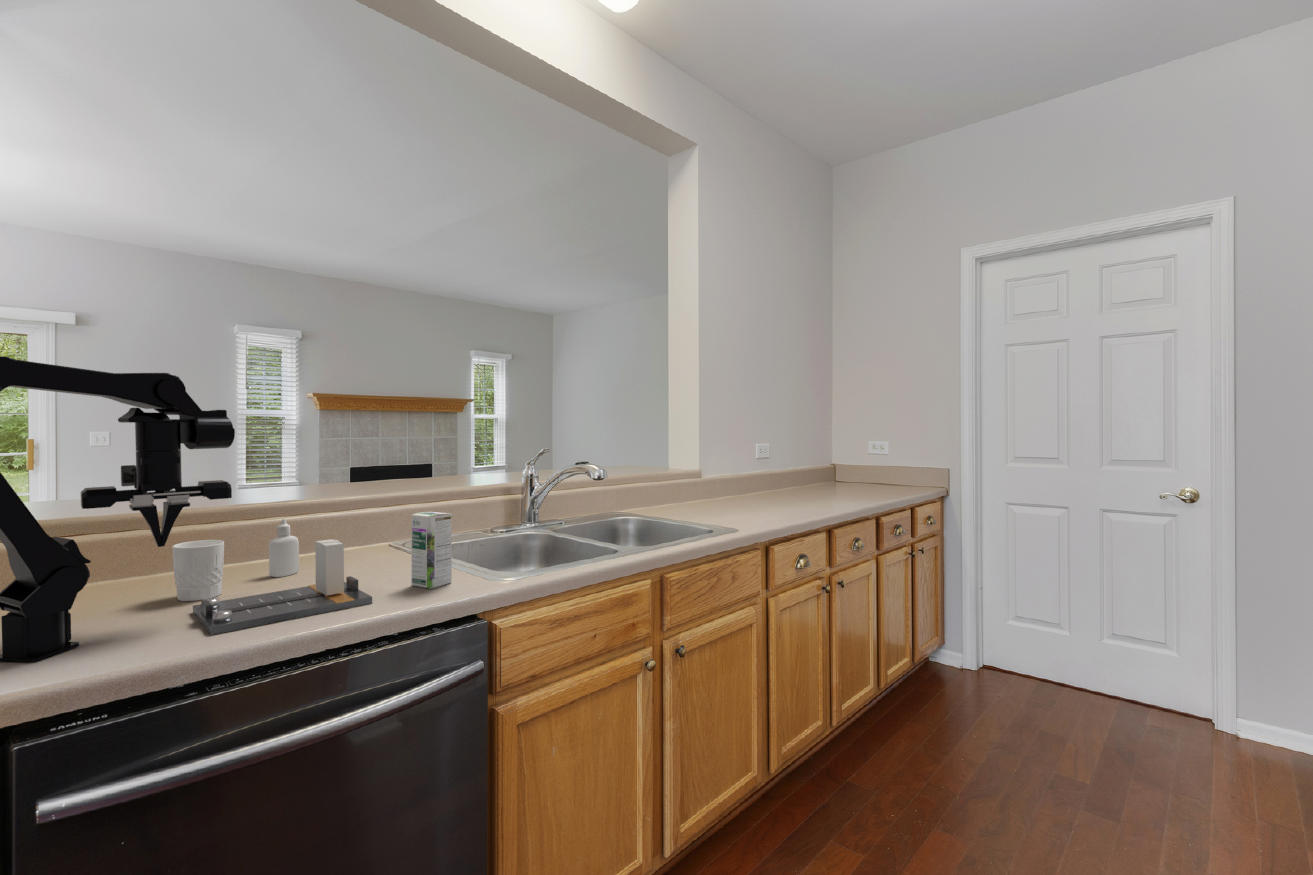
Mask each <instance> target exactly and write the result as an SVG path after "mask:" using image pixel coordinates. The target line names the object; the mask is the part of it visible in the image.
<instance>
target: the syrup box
mask: <svg viewBox="0 0 1313 875" xmlns="http://www.w3.org/2000/svg"><path fill="white" fill-rule="evenodd" d="M452 514H453V513H452V512H450V513H449V512H435V511H422V512H421V511H419V512H416V513H413V514H411V581H410V584H411V586H412V587H419V588H425V589H430V590H431V589H435V588H438V587H442V586H445V585H448V584H451V583H452V581H453V580H452V578H453V577H452V576H453V575H452V566H453V565H452V562H453V561H452V558H453V557H452V554H453V551H452V549H453V548H452V546H453V544H452V541H453V539H452V538H453V535H452V534H453V533H452V532H453V528H452V527H453V526H452V524H453V522H452V518H453V515H452Z"/></svg>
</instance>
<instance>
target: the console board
mask: <svg viewBox="0 0 1313 875" xmlns="http://www.w3.org/2000/svg"><path fill="white" fill-rule="evenodd" d="M345 579H346V581H344V593H338V594H333V595H327V596H326V595H325V594H323V593H321V592H320V591H318V590H316V583H315V584H310V585H308V586H302V587H296V588H290V589H284V590H277V591H271V592H267V593H261V594H255V595H254V594H253V595H248V596H242V597H237V598H230V599H224V600H220V598H218V597H213V598H209V599H204V600H200V602H201V603H200V604H194V605H192V613H193V615H195V617H196V619H198V621H199V622H200V623H201V625H202V626H203V625H204V626H203V627H204V628H205V630H206V631H207V632H208V633H209V635H211V636H214V635H220V634H223V633H228V632H229V633H230V632H233V631H234V632H235V631H239V630H238V629H240V630H244V629H248V628H249V627H250V628H253V626H255V627H258V626H257V625H260V626H264V625H270V624H274V622H275V623H279V621H280V622H284V621H290V620H295V619H299V618H300V619H301V618H306V617H310V616H315V615H319V614H325V613H330V612H333V611H334V612H335V611H339V610H345V609H349V608H354V607H360V606H365V605H370V604H373V596H372V595H370V594H368V593H366V592H364V591H362V590H361V589H359V579H357V578H355V577H354V576H346V578H345ZM269 623H270V624H269Z"/></svg>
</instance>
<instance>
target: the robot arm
mask: <svg viewBox="0 0 1313 875" xmlns="http://www.w3.org/2000/svg"><path fill="white" fill-rule="evenodd" d="M9 387H10V388H18V389H26V390H35V391H37V390H38V391H44V392H45V391H46V392H56V393H65V394H72V395H73V394H74V395H83V396H90V397H91V396H93V397H100V398H101V397H102V398H104V399H109V400H112V401H116V402H118V403H121V404H124V405H128V406H132V407H131V408H129V410H128V411H127V412H125V414H123V415H121V416H120V417H118V418H117V422H118V423H124V424H125V423H129V424H130V423H131V424H132V423H134V428H135V429H134V431H135V433H134V434H135V436H134V437H135V464H131V465H121V466H120V483H121V484H120V485H121V486H122V487H134V489H122V490H121V489H120V490H117V488H116V487H115V486H114V485H112V486H97V487H94V486H93V487H84V488H83V489H82V490H81V491H80V507H81V509H85V510H89V509H102V508H104V509H106V508H111V507H112V506H114V505H115V504H116V503H121V502H129V505H128V506H129V509H130V510H131V511H132V512H133V511H134V512H135V511H136V512H138V511H139V512H140V514H141V515H142V516H143V518H144V519H145V522H146V523H147V525H148V527H149V531H150V532H151V534H152V536H153V539H154V541H155V544H156V546H157V547H158V548H163V547H165V546H166V543H167V540H168V539H169V536H170V534H171V531H172V530H173V526H174V524H175V522H176V521H177V518H178V516H179V515H180V514H181V511H182V510H183V508H189V507H191V503H190V502H189V500H190V497H191V498H192V497H193V498H194V497H204V498H205V497H206V498H207V499H208V500H211V501H212V500H225V499H231V498H233V495H232V492H233V490H232V488H233V487H232V485H231V483H229V482H228V481H226V480H223V479H221V480H220V479H219V480H218V479H217V480H201V481H200V480H199V481H198V482H197V485H187V486H182V482H183V481H182V450H181V449H182V444H184V446H185V447H186V448H187V449H189V450H208V449H209V450H210V449H227V448H230V447H231V446H232V444H233V443H234V441H235V436H236V432H235V427H234V425H233V422H232V421H231V419H230V418H229V417H228V415H227V412H228V410H226V409H211V410H202V408H200V406H199V405H198V404H197V403H196V402H195V400H194V399H193V397H191V395H190V394H189V393H188V392H187V389H186V386H185V384H184V382H183V380H181V378H180V376H178V375H176V374H173V373H170V372H130V373H129V372H127V373H126V372H122V373H121V372H119V373H118V372H117V373H116V372H106V371H100V370H93V369H87V368H86V369H85V368H78V367H70V366H64V365H57V364H50V363H42V362H35V361H28V360H27V361H26V360H22V359H16V358H13V357H9V356H3V355H0V393H1V392H3V390H6V389H7V388H9ZM142 409H146V410H149V409H151V410H154V411H156V412H145V411H144V410H142ZM169 416H179V419H177V418H175V419H173V418H170V417H169ZM164 499H165V500H166V501H163V503H162V504H163V506H162V518H161V527H160V520H159V514H158V508H157V505H156V504H154V501H155V500H164ZM0 542H1V543H2V545H3V546H4V548H5V549H6V553H7V558H8V563H9V566H10V569H11V571H12V573H13V575H14V580H12V581H11V583H9V584H8V585H7V586H6V587H4V589H2V590H1V591H0V610H1V611H5V612H8V613H6V614H5V615H1V616H0V618H1V652H2V653H0V662H26V663H27V662H31V663H33V662H38V661H40V660H43V659H45V658H48V657H51V656H54V655H57V654H59V653H63V652H65V651H68V650H70V649H74V648H77V647H79V646H80V641H71V640H72V620H71V619H72V614H71V612H69V611H70V610H71V609H72V607H73V606H74V603H75V600H76V598H77V595H78V593H79V592H81V591H82V590H83V589H84V588H85V587H86V585H87V583H88V580H89V578H90V577H91V573H90V569H89V567H88V565H86V564H90V563H91V562H92V560H90V559H88V558H87V557H85V556H84V555H83V553H81V551H80V548H79V546H78V544H77V542H76V540H74V539H72V538H65V537H61V536H50V535H49V534H47V532H46V531H45V529H43V527H42V526H41V524H40V523H39V522H38V520H37V519H36V518H35V516H34V515H33V514H32V512H31V510H29V508H28V507H27V506H26V504H25V503H24V502H23V500H22V499H21V498H20V496H19V495H18V494H17V492H16V491H15V490H14V488H13V487H12V485H10V483H9V481H8V480H7V479H6V478H5V476H4V475H3V474H2V473H1V471H0Z"/></svg>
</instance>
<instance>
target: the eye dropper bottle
mask: <svg viewBox="0 0 1313 875" xmlns="http://www.w3.org/2000/svg"><path fill="white" fill-rule="evenodd" d="M276 528H277V529H276V531H277V532H276V534H277V536H276V537H273V538H272V539H271V540H270V541H269V543H268V571H269V572H268V574H269V577H270V578H271V577H272V578H282V577H289V576H292V574H293V575H296V574H298V573H299V572H300V552H299V550H300V544H299V543H300V542H299V539H298V537H297V536H294V535H292V534H291V525H290V524H288V523H287V519H286V518H282V519H281V523H280V524H279V525H277V526H276Z"/></svg>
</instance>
